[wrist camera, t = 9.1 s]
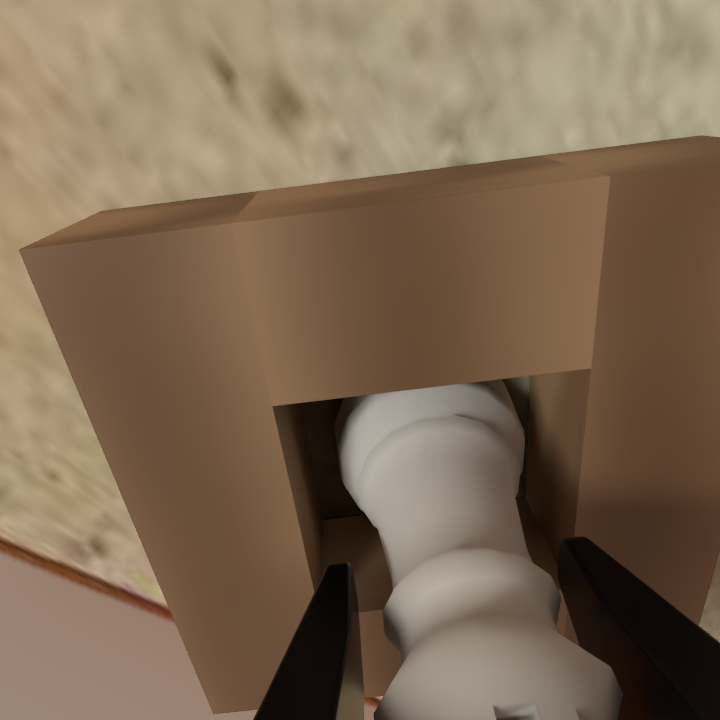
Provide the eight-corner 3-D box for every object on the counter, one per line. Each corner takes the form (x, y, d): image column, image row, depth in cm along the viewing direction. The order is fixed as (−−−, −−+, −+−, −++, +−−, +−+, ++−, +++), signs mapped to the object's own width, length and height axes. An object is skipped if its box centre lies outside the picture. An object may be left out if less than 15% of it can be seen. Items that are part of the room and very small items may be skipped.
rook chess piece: (310, 368, 12) (268, 742, 5) (496, 319, 12) (729, 652, 5) (360, 505, 14) (380, 911, 7) (521, 467, 14) (712, 859, 7)
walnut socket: (701, 135, 10) (831, 148, 7) (628, 566, 16) (688, 662, 13) (100, 210, 10) (18, 249, 8) (234, 610, 16) (213, 714, 13)
